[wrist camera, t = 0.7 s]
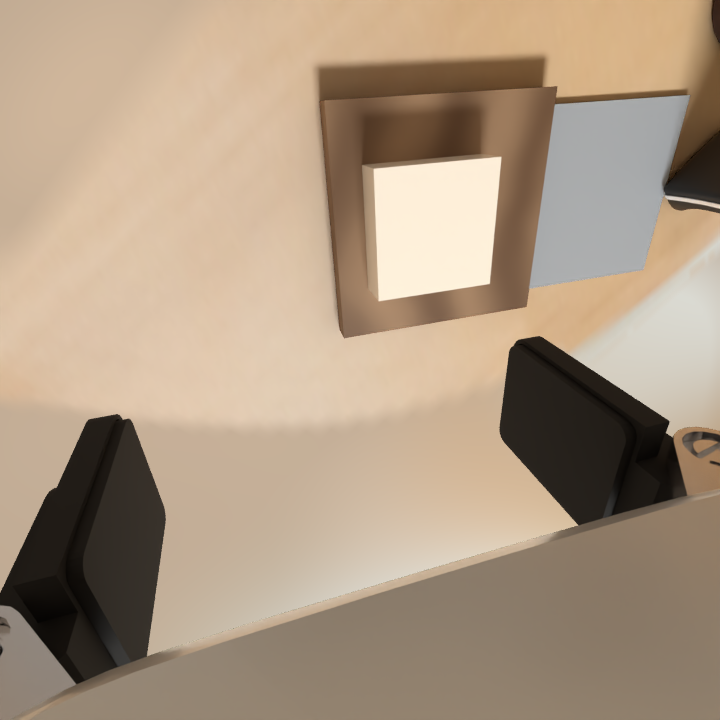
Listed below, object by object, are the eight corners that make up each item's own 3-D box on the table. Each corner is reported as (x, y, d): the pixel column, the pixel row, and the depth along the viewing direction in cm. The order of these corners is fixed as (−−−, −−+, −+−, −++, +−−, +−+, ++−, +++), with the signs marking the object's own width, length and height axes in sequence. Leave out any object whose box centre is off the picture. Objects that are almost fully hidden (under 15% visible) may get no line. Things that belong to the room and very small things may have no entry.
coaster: (481, 153, 28) (501, 156, 26) (472, 273, 32) (489, 283, 30) (361, 164, 27) (373, 168, 25) (368, 288, 31) (378, 301, 29)
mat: (686, 95, 32) (690, 94, 32) (640, 269, 38) (643, 270, 38) (540, 105, 29) (543, 105, 29) (517, 288, 36) (519, 290, 36)
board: (542, 87, 29) (557, 86, 28) (515, 300, 36) (526, 306, 35) (319, 101, 26) (324, 100, 25) (339, 329, 33) (344, 337, 32)
